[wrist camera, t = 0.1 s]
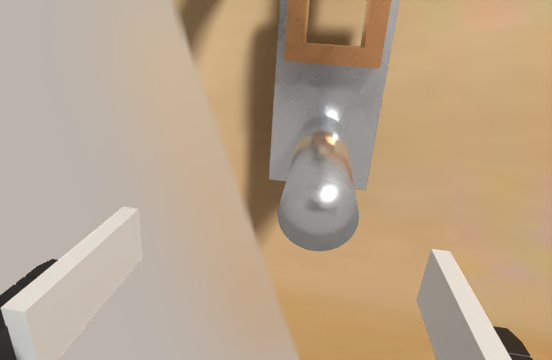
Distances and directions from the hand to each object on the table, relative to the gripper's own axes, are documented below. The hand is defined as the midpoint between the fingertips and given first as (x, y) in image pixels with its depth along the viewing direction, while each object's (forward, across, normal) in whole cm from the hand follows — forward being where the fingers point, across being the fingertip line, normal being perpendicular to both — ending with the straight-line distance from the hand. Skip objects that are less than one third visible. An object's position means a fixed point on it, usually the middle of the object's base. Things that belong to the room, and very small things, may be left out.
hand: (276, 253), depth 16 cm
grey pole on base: (+28, +2, +8) cm, 29 cm away
